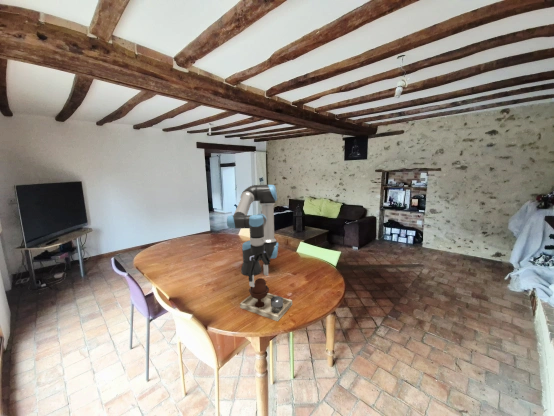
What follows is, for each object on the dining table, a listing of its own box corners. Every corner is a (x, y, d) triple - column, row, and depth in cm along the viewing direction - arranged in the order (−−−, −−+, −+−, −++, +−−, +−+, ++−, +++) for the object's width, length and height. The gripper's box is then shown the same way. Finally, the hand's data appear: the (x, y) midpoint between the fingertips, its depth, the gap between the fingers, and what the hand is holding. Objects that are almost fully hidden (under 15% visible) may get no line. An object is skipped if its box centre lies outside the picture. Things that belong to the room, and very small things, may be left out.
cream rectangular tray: (240, 309, 123) (239, 303, 123) (257, 295, 137) (256, 289, 136) (277, 323, 111) (277, 316, 111) (292, 306, 125) (292, 300, 124)
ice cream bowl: (250, 299, 130) (248, 275, 128) (269, 298, 131) (268, 274, 128) (248, 311, 120) (247, 285, 117) (269, 310, 120) (268, 284, 118)
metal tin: (269, 311, 119) (268, 300, 118) (275, 304, 125) (274, 294, 124) (279, 314, 116) (279, 304, 115) (285, 308, 122) (285, 298, 121)
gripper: (248, 253, 108) (251, 293, 112) (275, 238, 129) (276, 272, 133) (236, 250, 111) (239, 289, 115) (264, 236, 133) (266, 269, 137)
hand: (259, 280), depth 124 cm, fingers open, 13 cm apart
